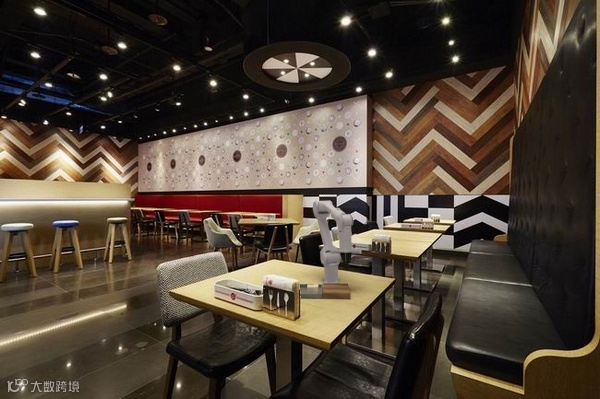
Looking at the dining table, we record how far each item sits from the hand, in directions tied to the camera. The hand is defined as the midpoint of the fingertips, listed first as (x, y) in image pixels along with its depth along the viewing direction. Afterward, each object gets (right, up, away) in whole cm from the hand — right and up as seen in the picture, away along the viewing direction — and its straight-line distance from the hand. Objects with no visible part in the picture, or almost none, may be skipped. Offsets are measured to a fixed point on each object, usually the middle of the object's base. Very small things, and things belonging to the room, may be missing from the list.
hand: (346, 268), depth 125 cm
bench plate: (-5, -11, -3) cm, 12 cm away
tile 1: (-14, -8, -5) cm, 17 cm away
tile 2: (-16, -8, +1) cm, 19 cm away
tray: (-17, -11, -2) cm, 21 cm away
